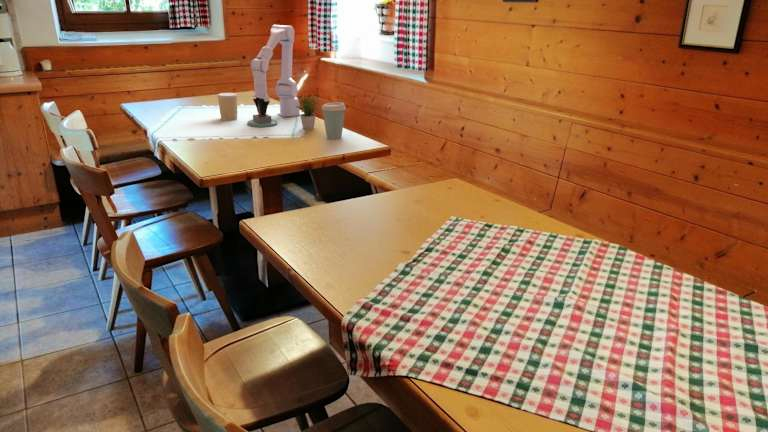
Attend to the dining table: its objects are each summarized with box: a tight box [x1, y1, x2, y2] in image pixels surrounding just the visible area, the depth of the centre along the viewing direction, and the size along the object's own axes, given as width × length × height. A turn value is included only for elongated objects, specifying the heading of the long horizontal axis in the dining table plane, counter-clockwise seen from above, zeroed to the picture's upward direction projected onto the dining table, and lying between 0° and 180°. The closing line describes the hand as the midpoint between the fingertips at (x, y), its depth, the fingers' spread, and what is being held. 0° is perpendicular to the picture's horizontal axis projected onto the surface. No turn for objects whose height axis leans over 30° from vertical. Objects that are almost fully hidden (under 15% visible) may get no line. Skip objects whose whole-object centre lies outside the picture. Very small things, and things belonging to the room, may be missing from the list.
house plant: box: [295, 94, 323, 131], centre depth 260 cm, size 14×14×16 cm
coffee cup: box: [217, 92, 238, 121], centre depth 276 cm, size 9×9×12 cm
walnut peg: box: [257, 104, 265, 117], centre depth 267 cm, size 3×3×8 cm
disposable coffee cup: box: [321, 101, 347, 140], centre depth 247 cm, size 11×11×15 cm
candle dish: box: [247, 113, 278, 128], centre depth 269 cm, size 14×14×4 cm
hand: (261, 114), depth 268 cm, fingers closed on walnut peg, 3 cm apart
